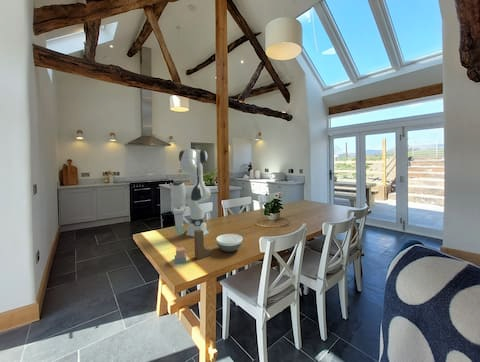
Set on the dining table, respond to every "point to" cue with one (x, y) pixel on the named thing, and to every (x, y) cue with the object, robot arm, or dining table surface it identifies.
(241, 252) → the dining table surface
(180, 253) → the pinkish brown cube
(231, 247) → the bowl
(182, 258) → the slate blue block
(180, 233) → the sage green cube
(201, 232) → the wooden block
